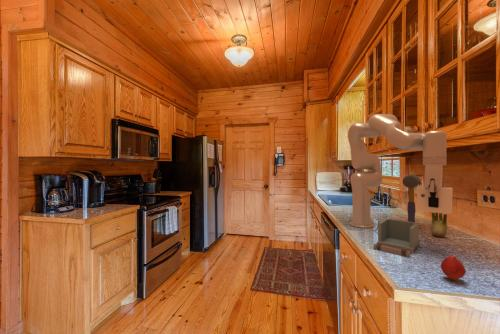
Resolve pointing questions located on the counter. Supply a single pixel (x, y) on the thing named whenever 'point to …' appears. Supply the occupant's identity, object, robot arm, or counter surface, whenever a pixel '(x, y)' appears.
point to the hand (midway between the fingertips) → (434, 206)
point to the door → (444, 200)
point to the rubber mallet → (411, 194)
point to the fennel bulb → (439, 225)
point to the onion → (453, 268)
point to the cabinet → (397, 237)
